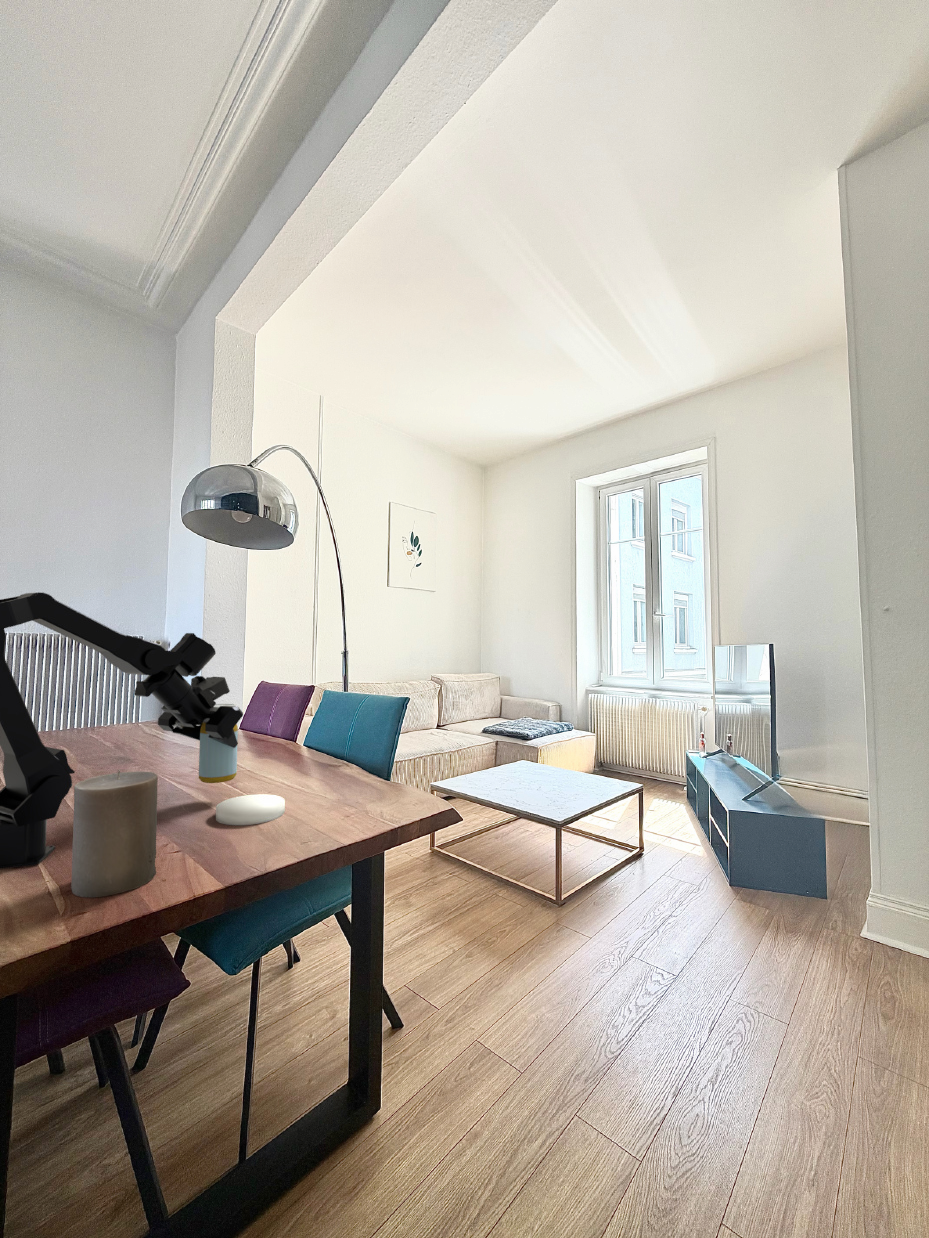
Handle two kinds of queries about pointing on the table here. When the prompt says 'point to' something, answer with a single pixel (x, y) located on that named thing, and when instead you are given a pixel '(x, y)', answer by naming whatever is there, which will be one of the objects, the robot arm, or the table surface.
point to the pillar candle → (114, 833)
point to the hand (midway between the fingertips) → (224, 743)
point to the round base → (250, 809)
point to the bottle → (216, 756)
